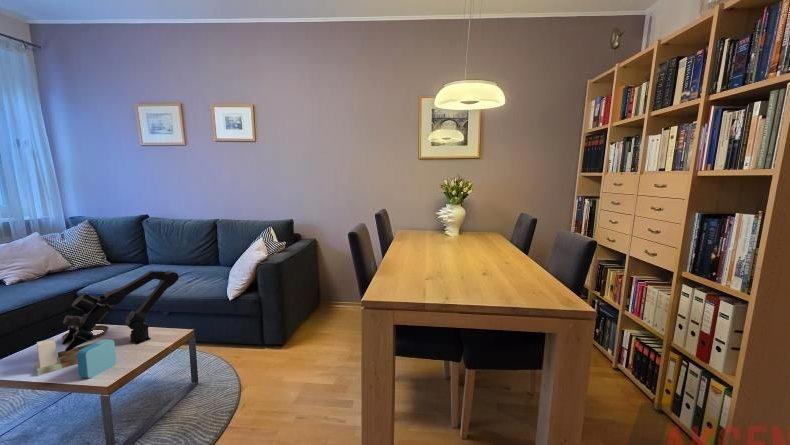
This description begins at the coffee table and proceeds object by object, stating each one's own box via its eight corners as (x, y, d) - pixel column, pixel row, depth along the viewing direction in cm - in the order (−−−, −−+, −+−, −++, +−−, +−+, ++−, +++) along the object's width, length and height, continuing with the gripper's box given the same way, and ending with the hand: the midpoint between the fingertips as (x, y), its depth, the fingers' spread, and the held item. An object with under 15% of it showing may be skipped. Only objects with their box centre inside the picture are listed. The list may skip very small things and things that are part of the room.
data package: (107, 363, 145) (105, 337, 144) (116, 364, 144) (114, 338, 143) (78, 378, 133) (75, 351, 132) (88, 379, 133) (85, 352, 131)
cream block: (55, 359, 144) (53, 338, 143) (57, 363, 141) (55, 341, 140) (39, 364, 140) (36, 342, 139) (40, 368, 137) (38, 345, 136)
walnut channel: (104, 347, 159) (104, 339, 158) (109, 353, 153) (109, 345, 152) (35, 367, 141) (34, 358, 140) (38, 375, 135) (37, 366, 134)
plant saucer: (92, 328, 180) (92, 323, 180) (117, 332, 176) (116, 326, 176) (53, 343, 163) (52, 337, 163) (79, 347, 159) (78, 341, 159)
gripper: (73, 303, 152) (41, 334, 145) (80, 313, 140) (46, 347, 133) (97, 314, 159) (68, 343, 152) (106, 324, 148) (75, 357, 140)
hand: (64, 347), depth 144 cm, fingers open, 9 cm apart
